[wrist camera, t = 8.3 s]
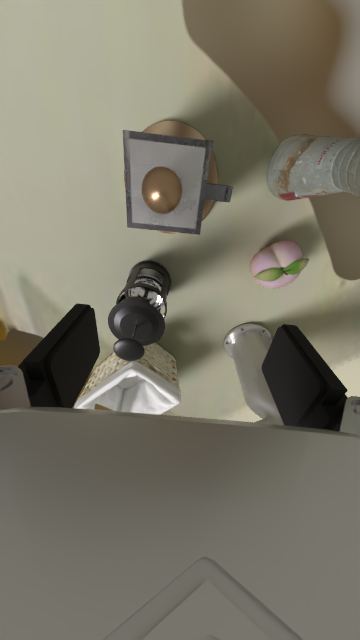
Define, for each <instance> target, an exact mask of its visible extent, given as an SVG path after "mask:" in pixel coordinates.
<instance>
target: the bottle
mask: <svg viewBox="0 0 360 640" xmlns="http://www.w3.org/2000/svg"><path fill="white" fill-rule="evenodd" d="M267 181H268V186H269V188H270V190H271V192H272V193H273V195H275V196H276V197H277V198H279V199H282V200H287V201H288V200H295V199H302V198H308V197H315V196H320V195H326V194H332V193H338V192H344V191H345V192H348V193H351V194H353V195H355V196H359V197H360V138H344V137H329V136H326V137H325V136H323V137H322V136H313V135H307V134H302V135H295V136H292V137H289V138H286V139H285V140H283V141H282V142H281V143H280V144H279V146H278V147H277V149H276V150H275V152H274V154H273V156H272V158H271V160H270V163H269V166H268V171H267Z"/></svg>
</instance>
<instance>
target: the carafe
mask: <svg viewBox="0 0 360 640" xmlns="http://www.w3.org/2000/svg"><path fill="white" fill-rule="evenodd" d="M212 142H213V141H209V140H201V139H193V138H185V137H177V136H168V135H160V134H152V133H144V132H136V131H127V130H123V143H124V164H125V185H126V206H127V227H130V228H140V229H150V230H160V231H170V232H180V233H190V234H200V228H201V221H202V214H203V206H204V199H205V200H214V201H223V202H230V199H231V194H232V189H233V187H230V186H226V185H221V184H212V183H207V178H208V170H209V163H210V156H211V149H212ZM160 166H161V167H167V168H169V169H171V170H172V171H174V172H175V173H176V174H177V176H178V177H179V179H180V182H181V186H182V196H181V200H180V202H179V204H178V206H177V207H176V208H175V209H174V210H173V211H171V212H169V213H166V214H159V213H156V212H154V211H152V210H151V209H150V208H149V207H148V206H147V205H146V203H145V201H144V199H143V196H142V182H143V179H144V177H145V175H146V174H147V173H148V172H149V171H150V170H151V169H153V168H155V167H160Z"/></svg>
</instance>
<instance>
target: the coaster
mask: <svg viewBox="0 0 360 640" xmlns="http://www.w3.org/2000/svg"><path fill="white" fill-rule="evenodd" d="M143 132H144V133H152V134H160V135H168V136H177V137H185V138H193V139H201V140H205V139H204V137H203V136H202V135H201V134H200V133H199V132H198V131H196V130H195V129H194V128H192V127H191V126H189V125H187V124H184V123H182V122H178V121H162V122H158V123H155V124H153V125H151V126H149V127H148V128H146V129H145V130H144V131H143ZM124 181H125V170H124ZM207 183H212V184H218V171H217V165H216V160H215V157H214V154H213V152H212V150H211V156H210V163H209V170H208V178H207ZM125 189H126V185H125ZM213 202H214V200H205V199H204V206H203V214H202V220H203V219H204V218H205V216H206V215H207V214H208V212H209V211H210V209H211V207H212V205H213ZM157 231H160V230H157ZM160 232H163V233H171V234H174V233H180V232H170V231H160Z"/></svg>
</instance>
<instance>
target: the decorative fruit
mask: <svg viewBox="0 0 360 640" xmlns="http://www.w3.org/2000/svg"><path fill="white" fill-rule="evenodd" d="M308 261H309V259H303V254H302V251H301V249H300V247H299V246H298V245H297V244H296V243H295V242H293V241H288V240H285V241H279V242H275V243H273V244H271V245H270V246H269V247H267V248H263V249H261V250H260V251H259V252H257V253H256V254H255V256H254V257H253V258H252V260H251V263H250V271H251V274H252V275H253V277H254V278H255V280H256V281H257V282H258V283H259V284H260V285H262V286H263V287H266V288H280V287H283V286H285V285H287V284H289V283H291V282H292V281H294V280H295V279H296V278H297V277H298V275H299V274H300V272H301V270H302V269H303V268H304V267H305V266H306V265H307V263H308Z"/></svg>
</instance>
